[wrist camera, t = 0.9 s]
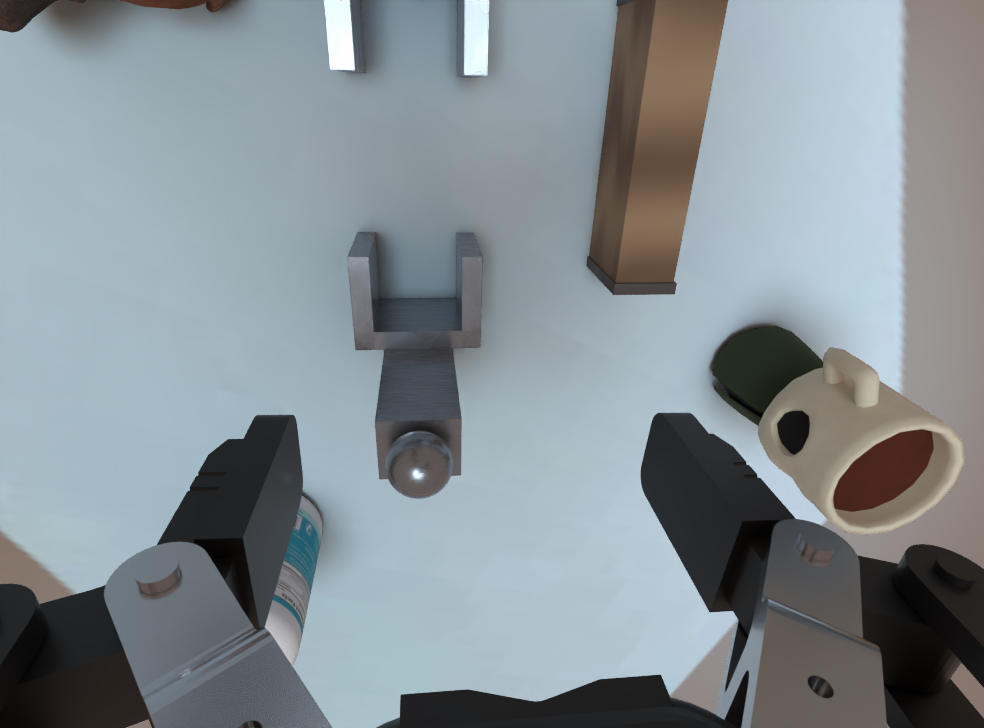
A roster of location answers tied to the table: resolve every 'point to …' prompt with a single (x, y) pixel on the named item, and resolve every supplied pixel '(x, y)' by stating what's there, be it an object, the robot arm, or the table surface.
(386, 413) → the ball knob clevis bracket
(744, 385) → the character mug
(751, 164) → the table surface
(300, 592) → the pill bottle
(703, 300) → the table surface
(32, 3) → the broken pottery vessel
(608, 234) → the walnut rail
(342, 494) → the table surface
